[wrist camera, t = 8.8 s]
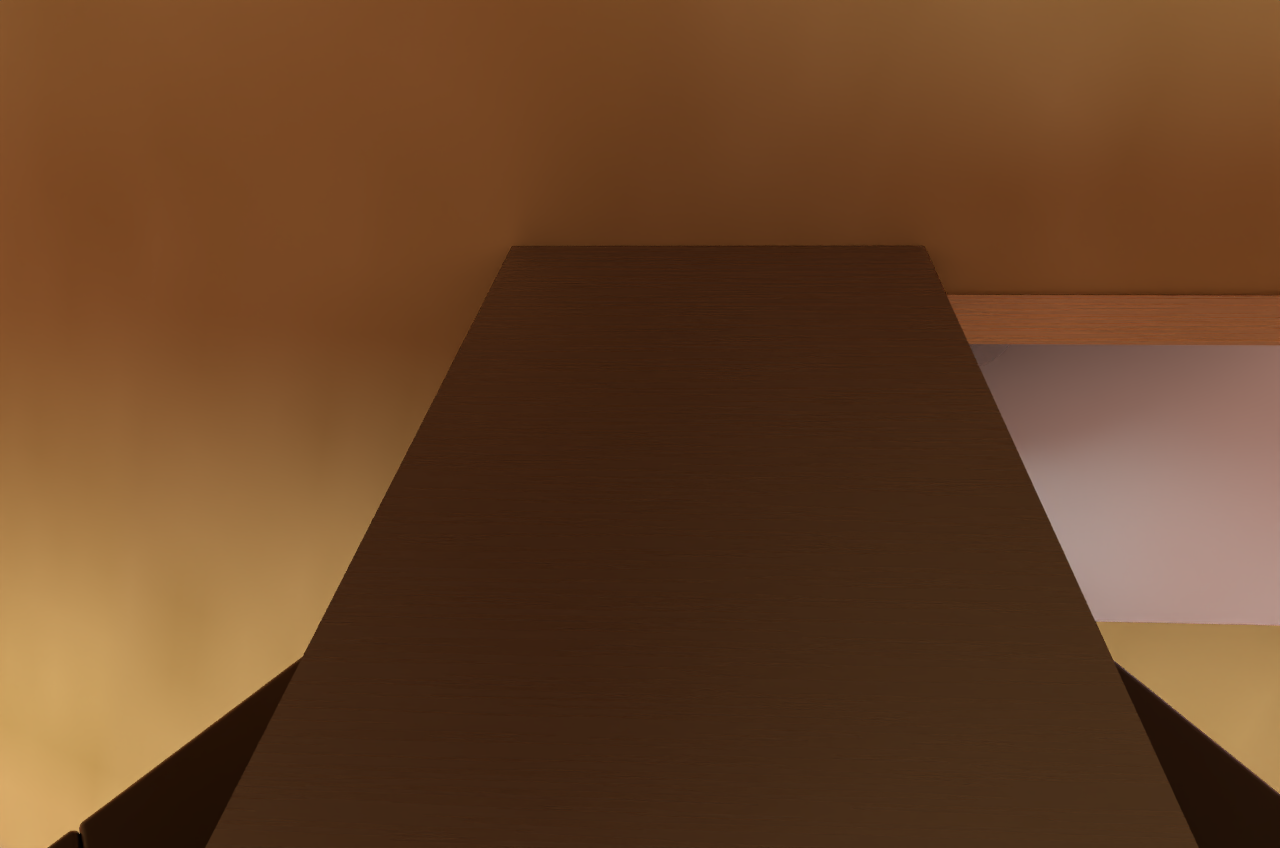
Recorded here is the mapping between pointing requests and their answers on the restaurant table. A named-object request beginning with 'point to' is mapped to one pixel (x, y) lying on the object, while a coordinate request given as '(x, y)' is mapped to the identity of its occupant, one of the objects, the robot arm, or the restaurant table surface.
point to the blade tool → (782, 564)
